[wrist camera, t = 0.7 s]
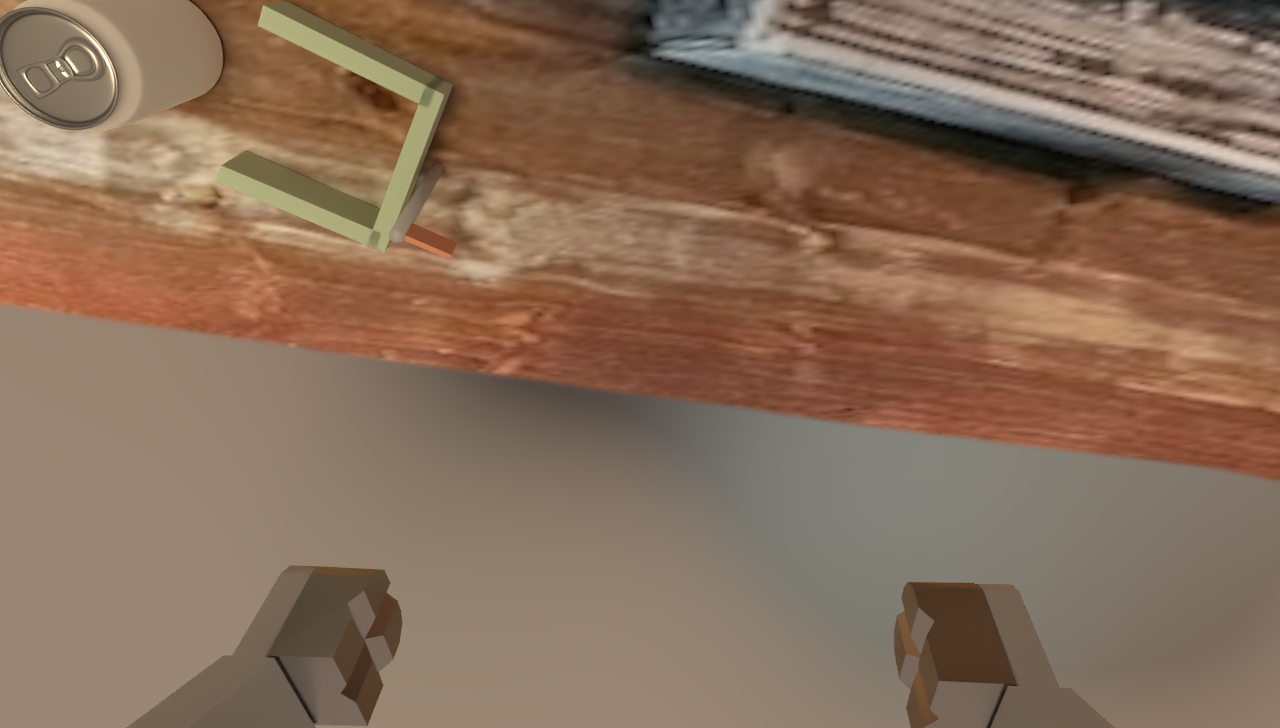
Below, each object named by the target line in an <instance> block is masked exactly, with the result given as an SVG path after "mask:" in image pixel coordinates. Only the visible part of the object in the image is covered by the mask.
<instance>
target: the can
mask: <svg viewBox="0 0 1280 728" xmlns="http://www.w3.org/2000/svg"><path fill="white" fill-rule="evenodd" d="M222 66H223V52H222V46H221V42H220V38H219V36H218V34H217V32H216V30H215V28H214V27H213V25H212V24H211V22H210V21H209V20H208V18H207V17H206V16H205V15H204V14H203V12H202V11H201V10H200V9H199V8H198V7H197V6H195V5H194V4H193V3H192V2H190V1H189V0H27V1H25V2H23V3H21V4H20V5H18V6H17V7H16V8H15V9H14V10H13V11H11V12H9V13H7V14H6V15H4V16H3V17H2V18H1V19H0V84H1V86H2V87H3V89H4V90H5V92H6V93H7V94H8V95H9V97H10V98H11V99H12V100H13V101H14V102H15V103H16V104H17V105H18V106H19V107H20V108H22V109H23V110H24V111H25V112H27V113H28V114H30V115H31V116H33V117H34V118H36V119H38V120H40V121H42V122H44V123H46V124H48V125H51V126H54V127H58V128H62V129H68V130H83V131H106V130H111V129H115V128H118V127H121V126H124V125H127V124H130V123H132V122H135V121H138V120H140V119H143V118H146V117H148V116H151V115H154V114H156V113H159V112H161V111H164V110H167V109H169V108H172V107H174V106H177V105H179V104H182V103H184V102H187V101H189V100H192V99H194V98H197V97H199V96H201V95H203V94H205V93H206V92H208V91H209V90H210V89H211V88H212V87H213V86H214V85H215V84H216V82H217V81H218V79H219V77H220V74H221V71H222Z"/></svg>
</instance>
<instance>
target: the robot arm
mask: <svg viewBox="0 0 1280 728" xmlns="http://www.w3.org/2000/svg"><path fill="white" fill-rule="evenodd" d="M389 585H390V581H389V579H388V577H387V575H386V572H385V570H379V569H378V570H377V569H358V568H339V567H320V566H289V567H288V568H287V569H286V570H284V571H283V572H282V573H281V574H280V576H279V577H278V579H277V581H276V583H275V584H274V586H273V588H272V589H271V591H270V593H269V594H268V596H267V598H266V599H265V601H264V603H263V605H262V606H261V608H260V610H259V611H258V613H257V615H256V617H255V618H254V620H253V621H252V624H251V625H250V627H249V628H248V630H247V632H246V633H245V635H244V637H243V638H242V640H241V642H240V644H239V645H238V647H237V649H236V650H235V652H234V654H233V655H232V656H222V657H221V658H220V659H218V660H217V661H216V662H214V663H213V664H212V665H210V666H209V667H207V668H206V669H205V670H204V671H202V672H201V673H199V674H198V675H197V676H195V677H194V678H193V679H191V680H190V681H189V682H187V683H186V684H185V685H183V686H182V687H181V688H179V689H178V690H176V691H175V692H174V693H172V694H171V695H170V696H169V697H167V698H166V699H164V700H163V701H162V702H161V703H159V704H158V705H156V706H155V707H154V708H152V709H151V710H150V711H149V712H147V713H146V714H144V715H143V716H141V717H140V718H139V719H137V720H136V721H135V722H133V723H132V724H131V725H129V726H128V727H127V728H315V726H314V725H353V726H354V725H355V726H367V725H368V723H369V720H370V718H371V715H372V713H373V710H374V708H375V705H376V703H377V700H378V698H379V695H380V693H381V690H382V687H383V683H382V680H381V677H380V674H379V671H380V670H382V669H383V668H384V667H385V666H386V665H387V664H389V663H390V662H391V661H392V660H393V659H394V656H395V653H396V651H397V648H398V645H399V642H400V635H401V628H402V616H401V609H400V607H399V604H398V601H397V600H396V599H394V598H393V597H392V596H390V595H389V594H388V593H386V592H387V590H388V587H389ZM901 598H902V602H903V606H904V610H905V611H903V612H902V613H901V614H899V615H897V618H896V623H895V628H894V650H895V658H896V665H897V669H898V674H899V678H900V679H901V681H902V682H903V683H904V684H905V685H906V686H907V687H908V688H909V689H910V690H911V691H910V695H909V698H908V702H907V706H906V709H907V713H908V718H909V722H910V726H911V728H1115V727H1113V726H1112V725H1111V724H1110V723H1109V722H1108V721H1107V720H1106V719H1104V718H1103V717H1102V716H1101V715H1100V714H1099V713H1098V712H1097V711H1095V710H1094V709H1093V708H1092V707H1091V706H1090V705H1089V704H1088V703H1086V702H1085V701H1084V700H1083V699H1082V698H1081V697H1080V696H1079V695H1077V694H1076V693H1075V692H1074V691H1073V690H1072V689H1070V688H1060V687H1059V685H1058V683H1057V680H1056V678H1055V676H1054V673H1053V671H1052V668H1051V666H1050V664H1049V661H1048V659H1047V657H1046V654H1045V652H1044V649H1043V647H1042V645H1041V643H1040V640H1039V638H1038V636H1037V633H1036V631H1035V628H1034V626H1033V623H1032V621H1031V619H1030V616H1029V614H1028V612H1027V609H1026V607H1025V605H1024V603H1023V600H1022V597H1021V595H1020V593H1019V591H1018V590H1017V589H1016V588H1015V587H1014V586H1013V585H1007V584H1006V585H1004V584H974V583H933V582H929V583H928V582H908V583H907V584H906V585H905V586H904V589H903V593H902V597H901Z"/></svg>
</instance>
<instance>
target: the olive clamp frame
mask: <svg viewBox="0 0 1280 728" xmlns="http://www.w3.org/2000/svg"><path fill="white" fill-rule="evenodd" d="M258 26H260V27H262V28H264V29H266V30H268V31H270V32H272V33H274V34H276V35H278V36H280V37H282V38H284V39H286V40H288V41H290V42H293V43H295V44H297V45H299V46H301V47H303V48H305V49H307V50H309V51H311V52H313V53H315V54H317V55H319V56H321V57H323V58H325V59H328V60H330V61H332V62H334V63H336V64H338V65H340V66H342V67H344V68H346V69H348V70H350V71H352V72H354V73H356V74H358V75H360V76H362V77H365V78H367V79H369V80H371V81H373V82H375V83H377V84H379V85H381V86H383V87H385V88H387V89H389V90H391V91H393V92H395V93H397V94H399V95H402V96H404V97H406V98H408V99H410V100H412V101H414V102H416V103H418V104H419V105H418V107H417V110H416V113H415V116H414V118H413V121H412V124H411V126H410V129H409V132H408V135H407V137H406V140H405V143H404V146H403V148H402V151H401V154H400V156H399V159H398V162H397V165H396V167H395V170H394V173H393V176H392V178H391V181H390V184H389V187H388V189H387V192H386V195H385V197H384V200H383V203H382V206H381V208H380V209H379V208H376V207H374V206H372V205H369V204H367V203H365V202H363V201H360V200H358V199H356V198H353V197H351V196H349V195H347V194H344V193H342V192H340V191H337V190H335V189H333V188H330V187H328V186H326V185H324V184H321V183H319V182H317V181H314V180H312V179H310V178H308V177H305V176H303V175H301V174H298V173H296V172H294V171H291V170H289V169H287V168H285V167H282V166H280V165H278V164H275V163H273V162H271V161H269V160H266V159H264V158H262V157H259V156H257V155H255V154H252V153H250V152H248V151H244V152H243V153H241V154H239V155H238V156H236V157H235V158H233V159H231V160H230V161H228V162H226V163H225V164H223V165H221V169H220V173H219V177H218V181H217V183H219V184H222V185H224V186H227V187H229V188H231V189H234V190H236V191H238V192H241V193H243V194H246V195H248V196H250V197H253V198H255V199H258V200H260V201H262V202H265V203H267V204H269V205H272V206H274V207H277V208H279V209H281V210H284V211H286V212H289V213H291V214H293V215H296V216H298V217H300V218H303V219H305V220H308V221H310V222H312V223H315V224H317V225H320V226H322V227H324V228H327V229H329V230H332V231H334V232H336V233H339V234H341V235H343V236H346V237H348V238H351V239H353V240H355V241H358V242H360V243H363V244H365V245H367V246H370V247H372V248H374V249H377V250H379V251H382V252H384V253H385V251H386V250H387V248H388V246H389V245H390V243H391V241H393V242H395V243H400V242H402V241H403V240H404V241H407V242H409V243H412V244H414V245H416V246H419V247H421V248H423V249H426V250H428V251H430V252H433V253H435V254H437V255H440V256H442V257H444V258H447V259H449V260H450V259H451V256H452V254H453V251H454V249H455V246H456V244H457V243H456V242H454V241H452V240H449V239H447V238H445V237H443V236H440V235H438V234H436V233H433V232H431V231H429V230H427V229H424V228H422V227H420V226H417V225H415V224H413V222H414V221H415V219H416V217H417V215H418V214H419V212H420V210H421V209H422V207H423V205H424V203H425V202H426V200H427V198H428V196H429V195H430V193H431V191H432V190H433V188H434V186H435V184H436V183H437V181H438V179H439V178H440V176H441V174H442V172H443V166H442V165H441V164H439V163H434V164H433V165H432V167H431V168H430V170H429V171H428V173H427V175H426V176H425V178H424V179H423V181H422V182H421V184H420V185H419V187H418V188H417V190H416V192H415V193H414V195H413V196H412V198H411V199H410V197H411V194H412V192H413V189H414V186H415V184H416V181H417V178H418V176H419V173H420V171H421V168H422V165H423V163H424V160H425V157H426V155H427V152H428V150H429V147H430V144H431V142H432V139H433V137H434V134H435V131H436V129H437V126H438V123H439V121H440V118H441V116H442V113H443V110H444V108H445V105H446V103H447V100H448V97H449V95H450V92H451V89H452V87H453V84H451V83H449V82H447V81H445V80H443V79H441V78H439V77H437V76H435V75H433V74H431V73H429V72H427V71H425V70H423V69H421V68H419V67H417V66H415V65H413V64H411V63H409V62H407V61H405V60H403V59H401V58H399V57H397V56H395V55H393V54H391V53H389V52H387V51H385V50H383V49H381V48H379V47H377V46H375V45H373V44H371V43H369V42H367V41H365V40H363V39H361V38H359V37H357V36H355V35H353V34H351V33H349V32H347V31H345V30H343V29H341V28H339V27H337V26H335V25H333V24H331V23H329V22H327V21H325V20H323V19H321V18H319V17H317V16H315V15H313V14H311V13H309V12H307V11H305V10H303V9H301V8H299V7H297V6H295V5H293V4H291V3H289V2H287V1H285V2H279V3H273V4H267V5H263V8H262V11H261V15H260V19H259V23H258ZM409 199H410V201H409Z"/></svg>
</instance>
